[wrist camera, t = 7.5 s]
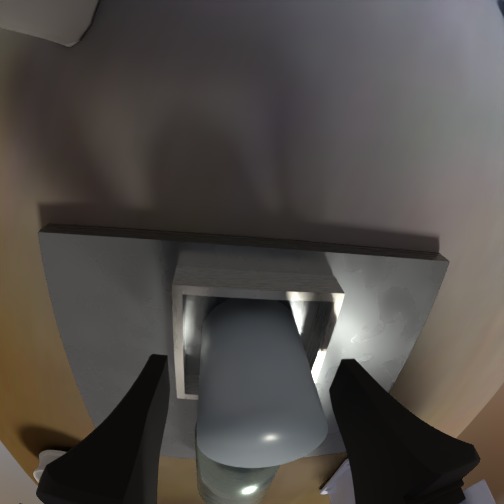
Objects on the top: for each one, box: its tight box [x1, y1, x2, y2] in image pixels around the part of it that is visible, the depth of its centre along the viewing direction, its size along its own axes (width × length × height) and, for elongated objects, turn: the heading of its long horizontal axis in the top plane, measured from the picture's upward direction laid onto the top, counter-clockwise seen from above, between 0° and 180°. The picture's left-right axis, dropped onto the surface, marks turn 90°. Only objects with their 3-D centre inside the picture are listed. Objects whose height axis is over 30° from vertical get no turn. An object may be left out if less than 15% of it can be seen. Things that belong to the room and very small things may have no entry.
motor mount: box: [38, 224, 449, 504], centre depth 15 cm, size 18×20×6 cm
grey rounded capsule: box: [197, 298, 328, 468], centre depth 12 cm, size 4×4×6 cm
